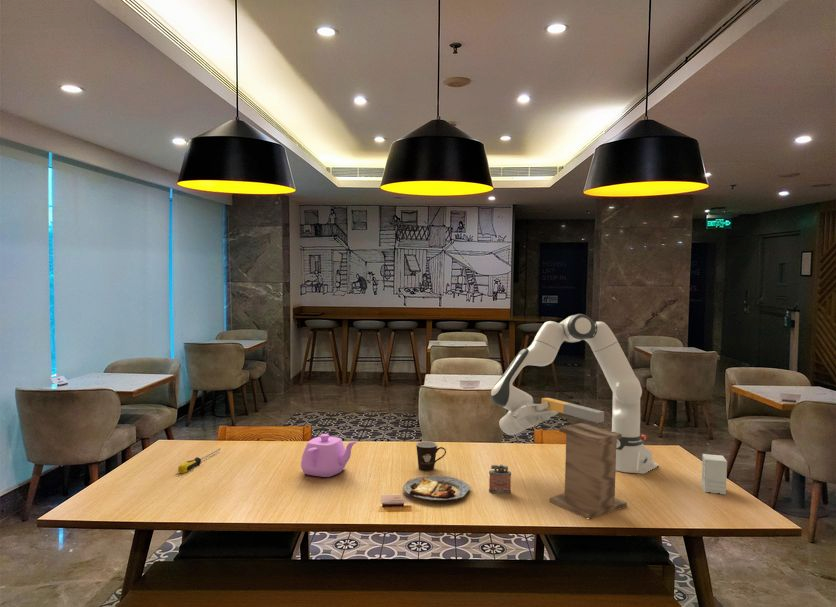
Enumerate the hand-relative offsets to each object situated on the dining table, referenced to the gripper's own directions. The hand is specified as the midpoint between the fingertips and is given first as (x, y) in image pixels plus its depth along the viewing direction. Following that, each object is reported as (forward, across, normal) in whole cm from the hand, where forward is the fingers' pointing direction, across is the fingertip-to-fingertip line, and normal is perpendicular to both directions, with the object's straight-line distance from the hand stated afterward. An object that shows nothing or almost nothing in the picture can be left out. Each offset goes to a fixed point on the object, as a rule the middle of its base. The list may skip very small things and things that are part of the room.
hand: (553, 403), depth 209 cm
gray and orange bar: (+6, 0, +6) cm, 9 cm away
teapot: (-68, -65, -1) cm, 94 cm away
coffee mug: (-52, -27, +8) cm, 59 cm away
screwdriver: (-100, -104, -20) cm, 146 cm away
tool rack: (-1, 0, +36) cm, 37 cm away
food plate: (-33, -39, +19) cm, 54 cm away
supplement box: (+12, +52, +44) cm, 69 cm away
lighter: (-22, -19, +24) cm, 38 cm away
